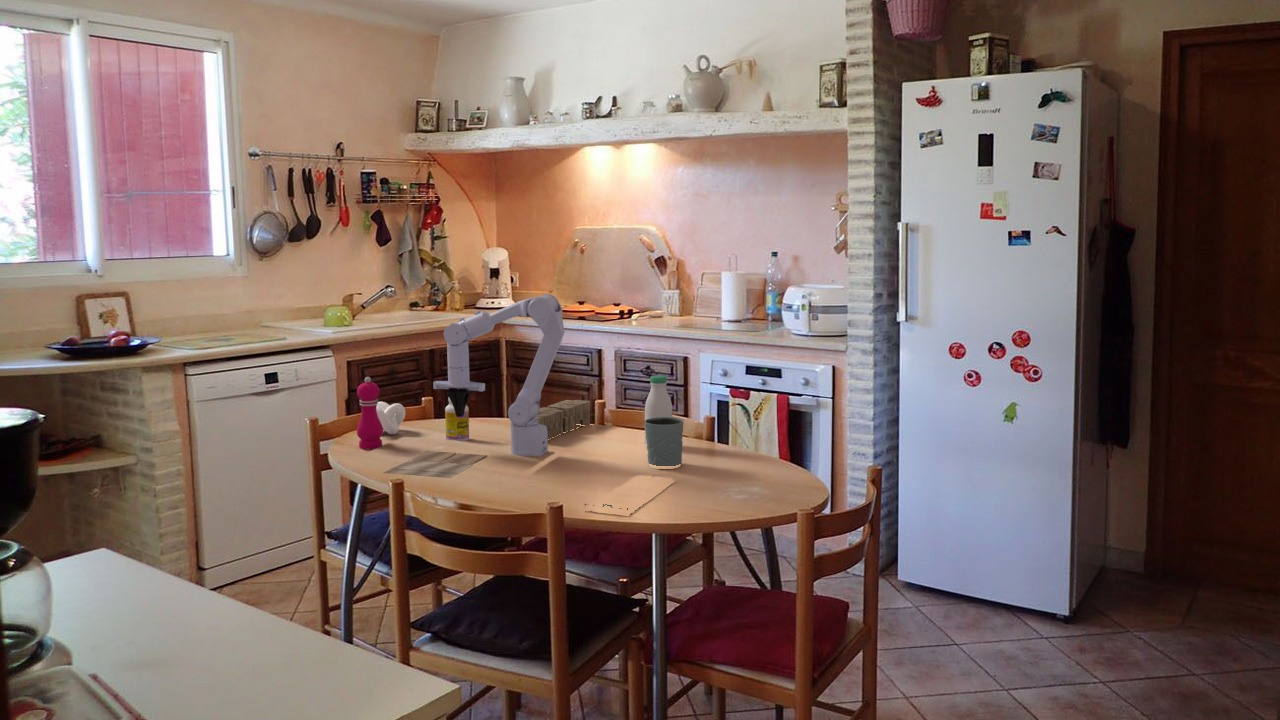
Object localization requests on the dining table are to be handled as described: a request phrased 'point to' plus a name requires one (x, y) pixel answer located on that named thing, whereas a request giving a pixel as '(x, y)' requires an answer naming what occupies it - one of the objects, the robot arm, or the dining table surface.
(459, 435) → the supplement bottle
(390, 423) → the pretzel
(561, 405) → the block tower
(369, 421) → the pepper mill
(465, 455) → the plank
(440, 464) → the grey slab
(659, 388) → the milk bottle
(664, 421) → the grey-green tapered open cylinder
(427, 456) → the plank
